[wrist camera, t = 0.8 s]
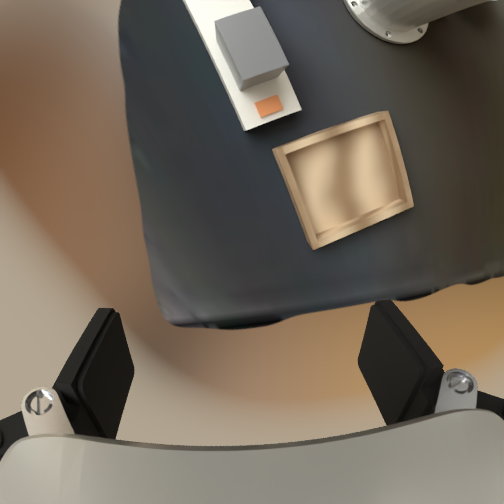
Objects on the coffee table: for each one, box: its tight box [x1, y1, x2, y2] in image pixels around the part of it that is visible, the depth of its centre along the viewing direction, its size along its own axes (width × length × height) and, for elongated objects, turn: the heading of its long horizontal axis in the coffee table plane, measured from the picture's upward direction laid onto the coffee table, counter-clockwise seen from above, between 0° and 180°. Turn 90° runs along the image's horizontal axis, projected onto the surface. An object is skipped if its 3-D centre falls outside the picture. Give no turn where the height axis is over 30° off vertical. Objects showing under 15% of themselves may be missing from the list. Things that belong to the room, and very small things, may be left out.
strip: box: [183, 0, 302, 131], centre depth 26 cm, size 6×20×4 cm, turn 22°
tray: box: [272, 111, 414, 250], centre depth 33 cm, size 14×12×3 cm
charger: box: [214, 6, 289, 91], centre depth 24 cm, size 4×6×8 cm, turn 23°
